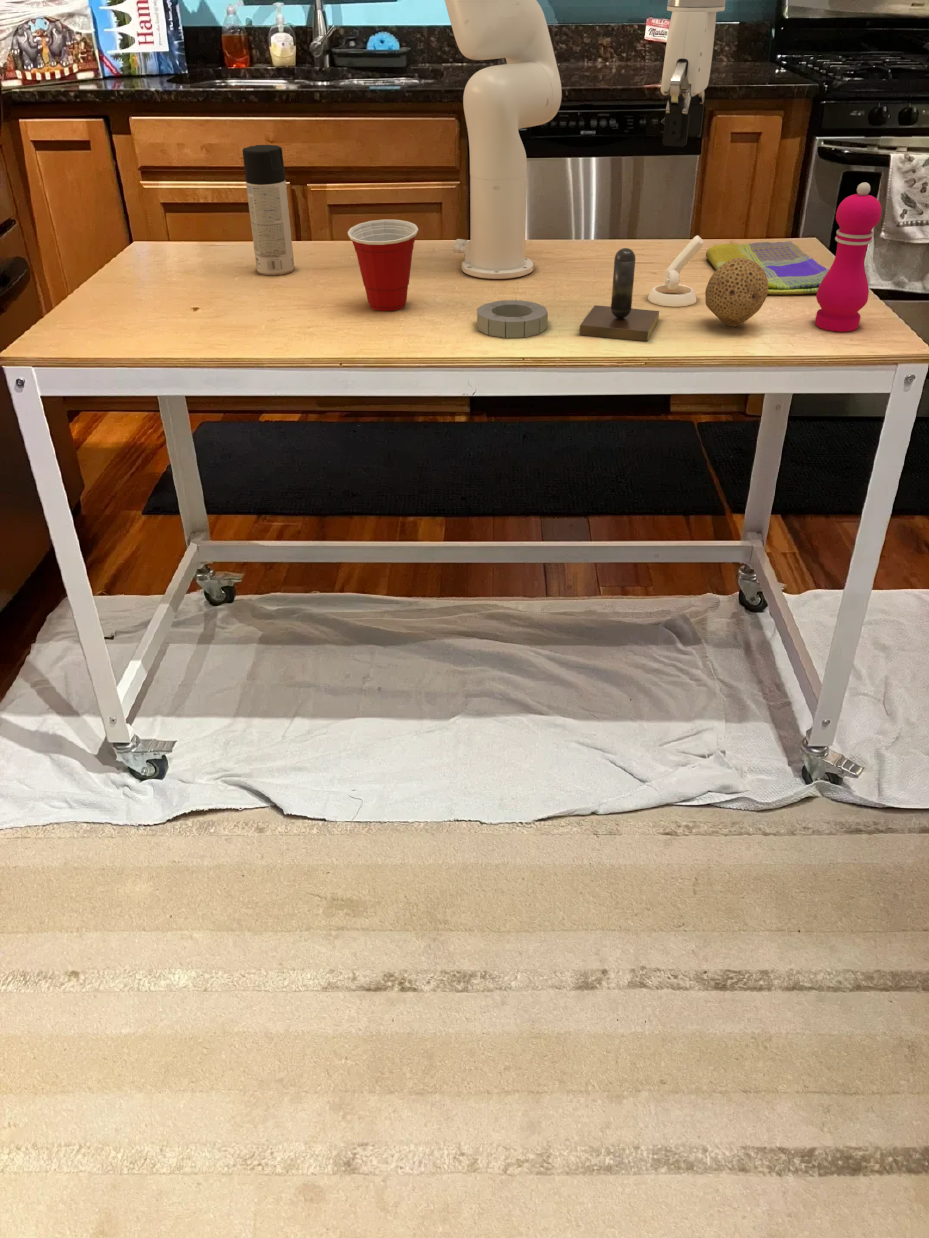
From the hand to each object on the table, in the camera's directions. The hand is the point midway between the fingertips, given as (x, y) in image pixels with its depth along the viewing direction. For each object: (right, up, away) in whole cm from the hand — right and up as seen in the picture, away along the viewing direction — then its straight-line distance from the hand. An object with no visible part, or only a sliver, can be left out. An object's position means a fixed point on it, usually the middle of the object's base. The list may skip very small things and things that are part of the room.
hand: (681, 140), depth 143 cm
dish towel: (+21, -9, +31) cm, 39 cm away
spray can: (-64, -6, +36) cm, 74 cm away
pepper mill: (+25, -24, +9) cm, 36 cm away
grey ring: (-24, -24, +10) cm, 35 cm away
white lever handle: (+3, -16, +20) cm, 26 cm away
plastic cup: (-43, -18, +18) cm, 50 cm away
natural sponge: (+9, -24, +9) cm, 27 cm away
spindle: (-8, -24, +9) cm, 27 cm away
